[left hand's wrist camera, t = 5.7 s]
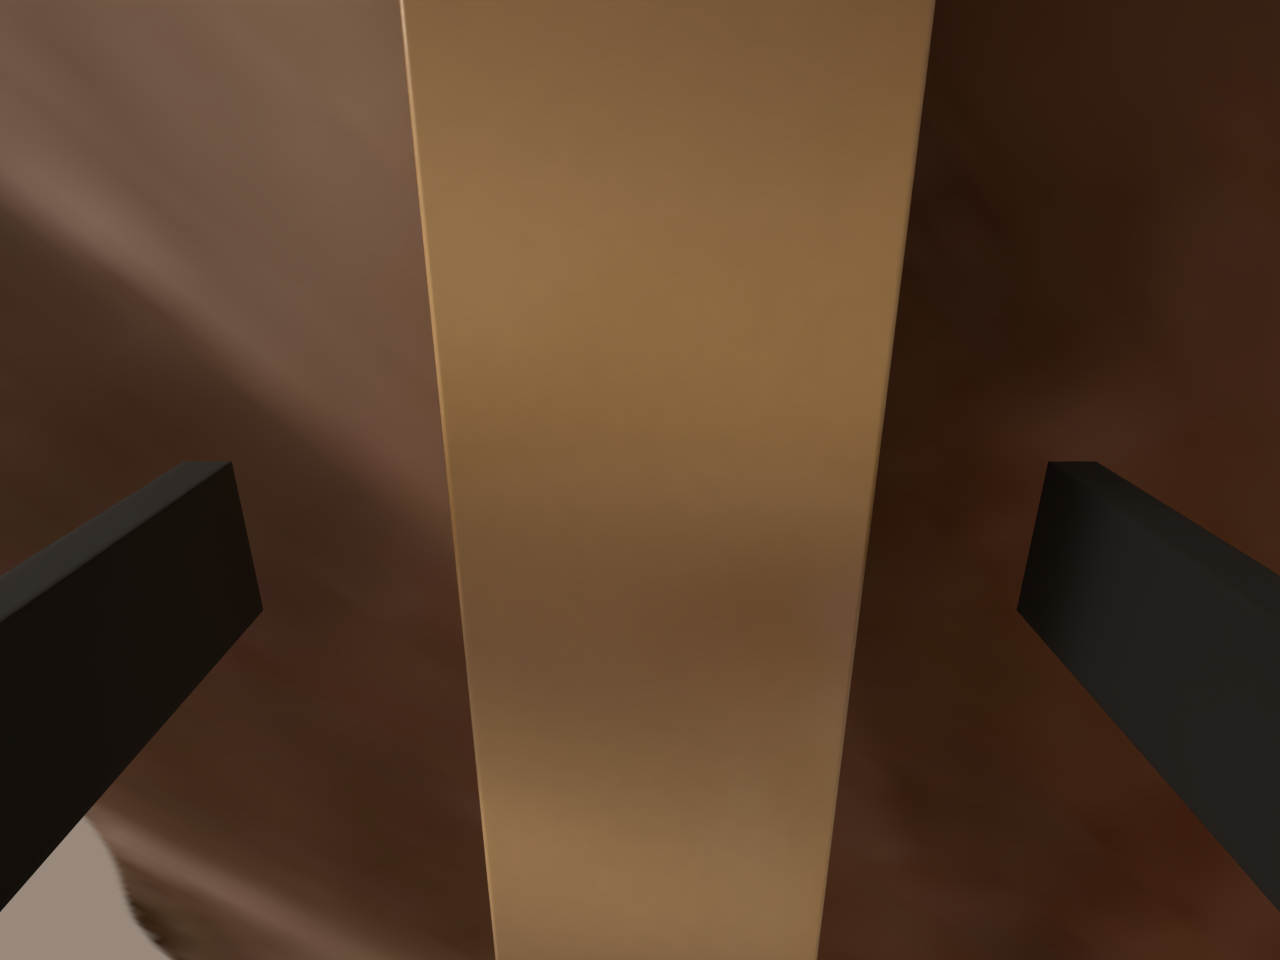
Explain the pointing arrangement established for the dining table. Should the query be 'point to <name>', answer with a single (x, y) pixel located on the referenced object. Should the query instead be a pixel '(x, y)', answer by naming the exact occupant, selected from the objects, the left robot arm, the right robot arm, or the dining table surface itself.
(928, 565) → the dining table surface
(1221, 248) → the dining table surface
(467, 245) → the post
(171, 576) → the left robot arm
